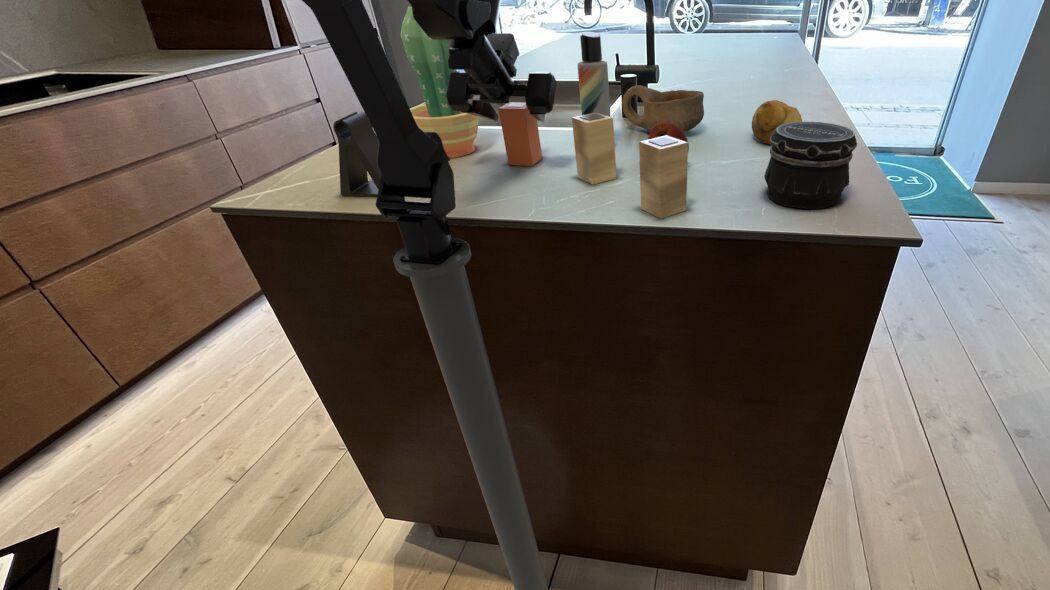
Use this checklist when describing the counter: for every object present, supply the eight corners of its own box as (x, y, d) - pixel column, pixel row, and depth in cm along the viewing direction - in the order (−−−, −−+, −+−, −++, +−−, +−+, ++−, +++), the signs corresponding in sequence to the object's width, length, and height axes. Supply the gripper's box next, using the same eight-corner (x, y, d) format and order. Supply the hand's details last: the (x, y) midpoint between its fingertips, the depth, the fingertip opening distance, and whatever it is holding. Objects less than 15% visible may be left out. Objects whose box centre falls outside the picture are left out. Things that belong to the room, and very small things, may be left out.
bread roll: (745, 131, 114) (748, 90, 109) (789, 129, 114) (795, 88, 109) (755, 148, 104) (760, 104, 99) (805, 146, 104) (812, 102, 99)
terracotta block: (533, 166, 99) (524, 108, 93) (508, 165, 100) (498, 107, 94) (542, 157, 103) (534, 101, 97) (518, 156, 104) (509, 101, 98)
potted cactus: (450, 167, 100) (411, 10, 85) (397, 156, 107) (352, 8, 91) (506, 146, 110) (481, 2, 95) (455, 137, 117) (423, 1, 102)
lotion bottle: (599, 140, 112) (591, 29, 100) (617, 145, 109) (611, 31, 96) (578, 146, 109) (568, 33, 97) (597, 151, 105) (588, 35, 93)
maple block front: (686, 210, 80) (688, 141, 74) (660, 218, 78) (660, 148, 72) (666, 201, 84) (666, 134, 77) (640, 209, 81) (638, 140, 75)
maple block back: (616, 178, 93) (613, 116, 86) (592, 185, 90) (587, 122, 84) (601, 171, 96) (596, 111, 90) (577, 177, 94) (571, 116, 87)
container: (842, 184, 87) (855, 120, 81) (848, 214, 77) (864, 144, 71) (763, 180, 90) (771, 118, 83) (760, 209, 80) (768, 140, 74)
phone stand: (407, 184, 93) (385, 111, 86) (391, 196, 89) (366, 120, 81) (359, 183, 94) (333, 111, 87) (341, 196, 90) (312, 120, 82)
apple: (638, 170, 96) (636, 123, 91) (665, 159, 100) (665, 114, 95) (669, 178, 92) (669, 130, 87) (696, 167, 96) (698, 120, 91)
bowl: (616, 135, 109) (615, 81, 105) (626, 137, 122) (625, 88, 118) (702, 134, 107) (704, 79, 103) (703, 136, 120) (705, 87, 116)
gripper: (544, 14, 82) (574, 79, 97) (436, 16, 85) (481, 78, 100) (533, 81, 80) (565, 136, 96) (424, 80, 84) (471, 133, 99)
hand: (520, 119), depth 98 cm, fingers open, 9 cm apart
